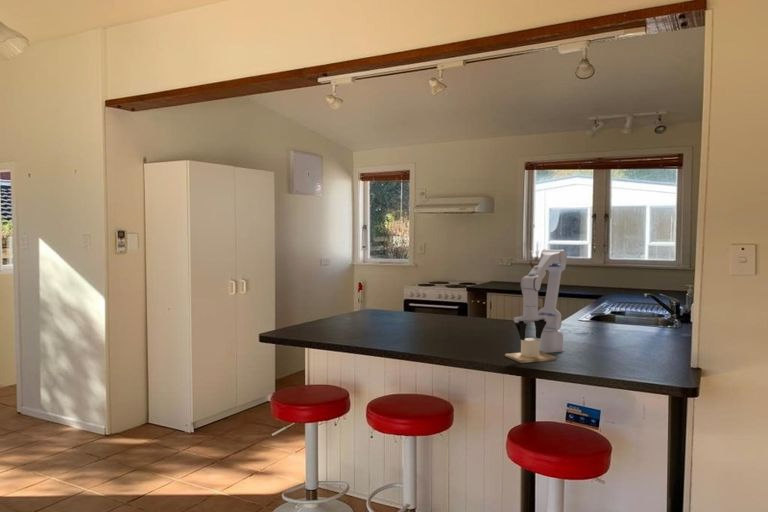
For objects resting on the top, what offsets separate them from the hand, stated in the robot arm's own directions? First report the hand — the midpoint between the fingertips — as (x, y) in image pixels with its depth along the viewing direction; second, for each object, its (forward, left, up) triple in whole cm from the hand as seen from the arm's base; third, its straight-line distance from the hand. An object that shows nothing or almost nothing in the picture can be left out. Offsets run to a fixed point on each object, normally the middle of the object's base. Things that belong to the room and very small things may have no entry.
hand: (530, 338), depth 221 cm
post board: (0, 0, -8) cm, 8 cm away
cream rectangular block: (0, 0, -7) cm, 7 cm away
